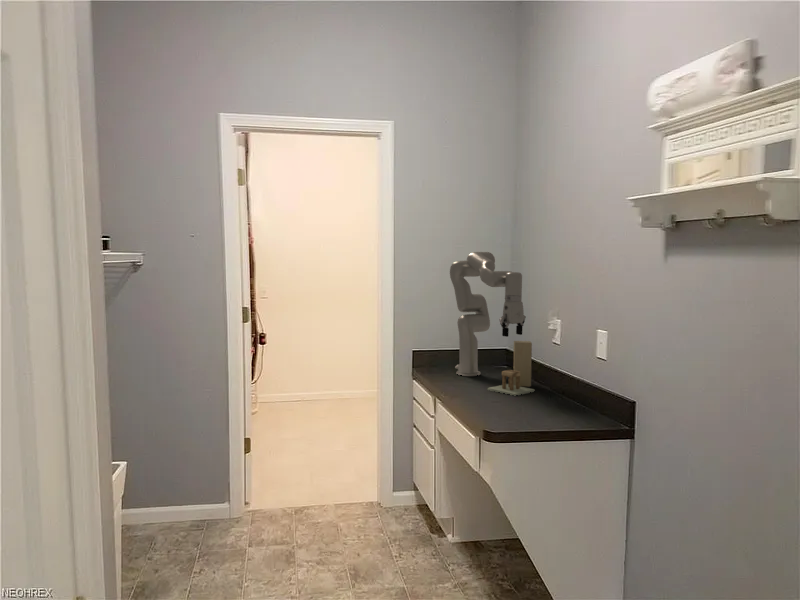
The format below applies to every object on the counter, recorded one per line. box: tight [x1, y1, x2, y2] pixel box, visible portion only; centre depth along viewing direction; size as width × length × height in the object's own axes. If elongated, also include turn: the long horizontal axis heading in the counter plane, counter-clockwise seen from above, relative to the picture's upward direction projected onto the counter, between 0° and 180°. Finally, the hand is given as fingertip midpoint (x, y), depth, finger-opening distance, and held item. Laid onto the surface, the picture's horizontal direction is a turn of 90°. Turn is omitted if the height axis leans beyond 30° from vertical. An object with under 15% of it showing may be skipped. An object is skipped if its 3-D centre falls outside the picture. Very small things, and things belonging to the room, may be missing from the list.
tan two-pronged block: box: [501, 369, 521, 390], centre depth 267 cm, size 6×6×8 cm
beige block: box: [512, 340, 533, 388], centre depth 279 cm, size 8×7×21 cm
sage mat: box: [487, 383, 535, 397], centre depth 267 cm, size 16×14×1 cm
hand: (512, 335), depth 272 cm, fingers open, 9 cm apart
